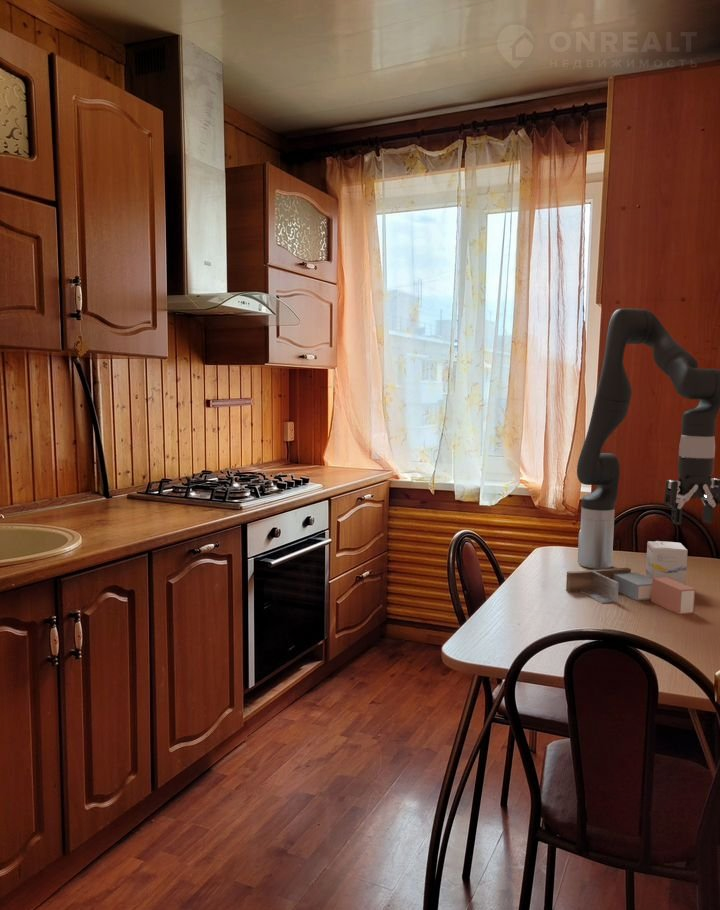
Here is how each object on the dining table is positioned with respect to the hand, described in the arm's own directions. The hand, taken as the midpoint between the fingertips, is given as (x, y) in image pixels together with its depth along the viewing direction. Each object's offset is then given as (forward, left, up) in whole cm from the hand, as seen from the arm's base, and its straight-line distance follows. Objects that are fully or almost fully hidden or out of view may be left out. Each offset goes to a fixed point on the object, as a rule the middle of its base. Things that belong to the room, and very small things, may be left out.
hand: (691, 523), depth 165 cm
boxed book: (-3, -2, -21) cm, 21 cm away
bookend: (-14, -15, -21) cm, 29 cm away
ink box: (-16, +7, -21) cm, 28 cm away
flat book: (-14, -4, -21) cm, 25 cm away
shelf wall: (-19, -10, -21) cm, 30 cm away
